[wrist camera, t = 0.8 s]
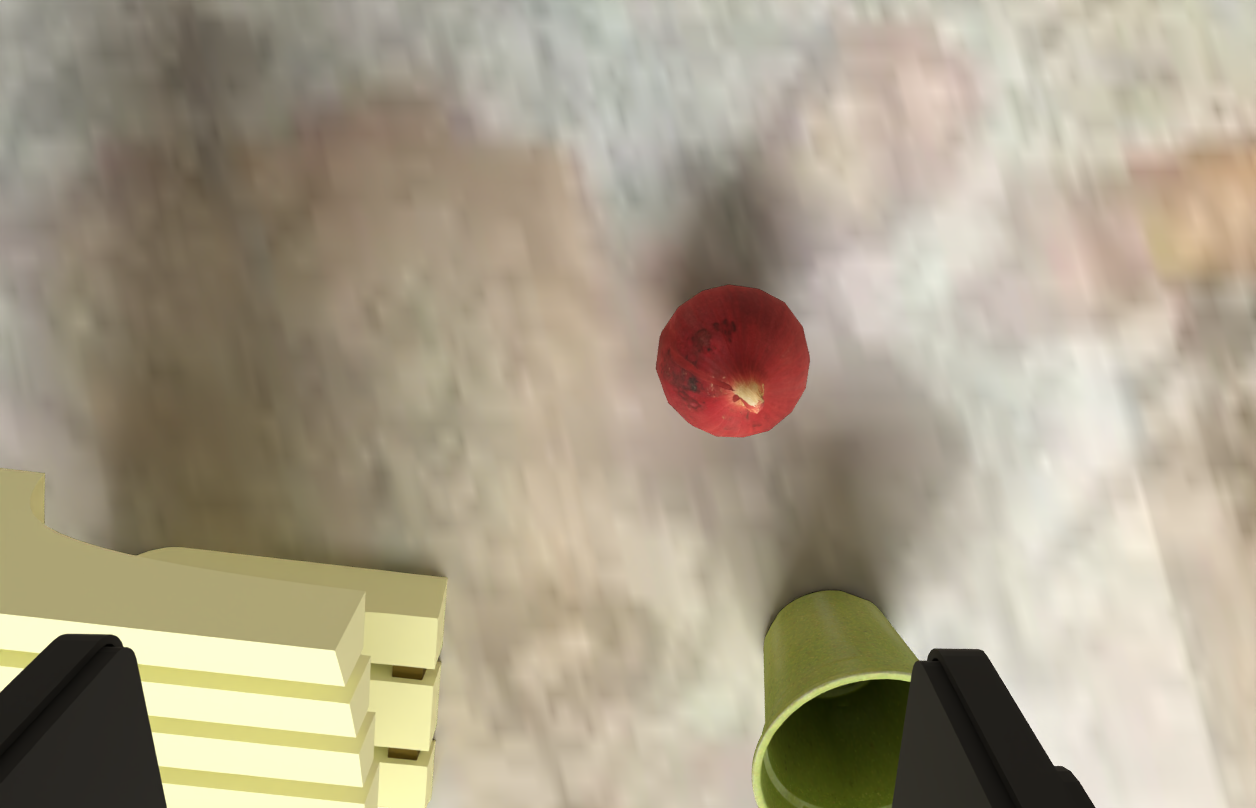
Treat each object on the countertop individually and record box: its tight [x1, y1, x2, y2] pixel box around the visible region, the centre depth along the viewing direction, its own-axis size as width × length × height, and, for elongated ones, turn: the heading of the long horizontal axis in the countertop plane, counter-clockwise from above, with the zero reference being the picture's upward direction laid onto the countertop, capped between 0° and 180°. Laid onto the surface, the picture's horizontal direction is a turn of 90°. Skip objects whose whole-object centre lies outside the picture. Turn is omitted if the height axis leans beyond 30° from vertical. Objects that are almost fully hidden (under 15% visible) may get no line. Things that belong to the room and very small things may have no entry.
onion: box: [656, 285, 810, 437], centre depth 34 cm, size 6×6×8 cm
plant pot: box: [752, 590, 919, 808], centre depth 39 cm, size 9×9×9 cm
